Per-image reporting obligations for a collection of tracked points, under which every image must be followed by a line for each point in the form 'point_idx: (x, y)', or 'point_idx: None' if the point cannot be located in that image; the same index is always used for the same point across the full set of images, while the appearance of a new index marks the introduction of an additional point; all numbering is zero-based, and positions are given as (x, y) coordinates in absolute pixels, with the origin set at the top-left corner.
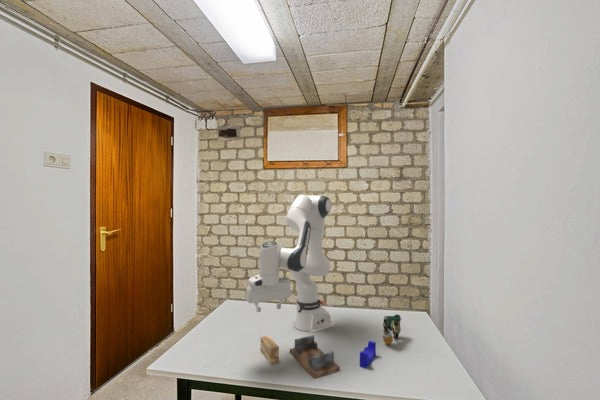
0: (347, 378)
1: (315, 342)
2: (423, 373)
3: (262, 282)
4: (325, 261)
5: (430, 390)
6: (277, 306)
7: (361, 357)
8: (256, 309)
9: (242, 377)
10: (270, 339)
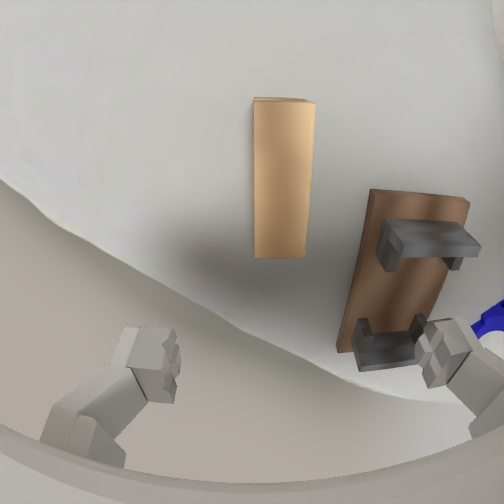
0: None
1: (459, 261)
2: None
3: None
4: None
5: (449, 397)
6: (427, 366)
7: None
8: (120, 344)
9: (134, 265)
10: (301, 161)
